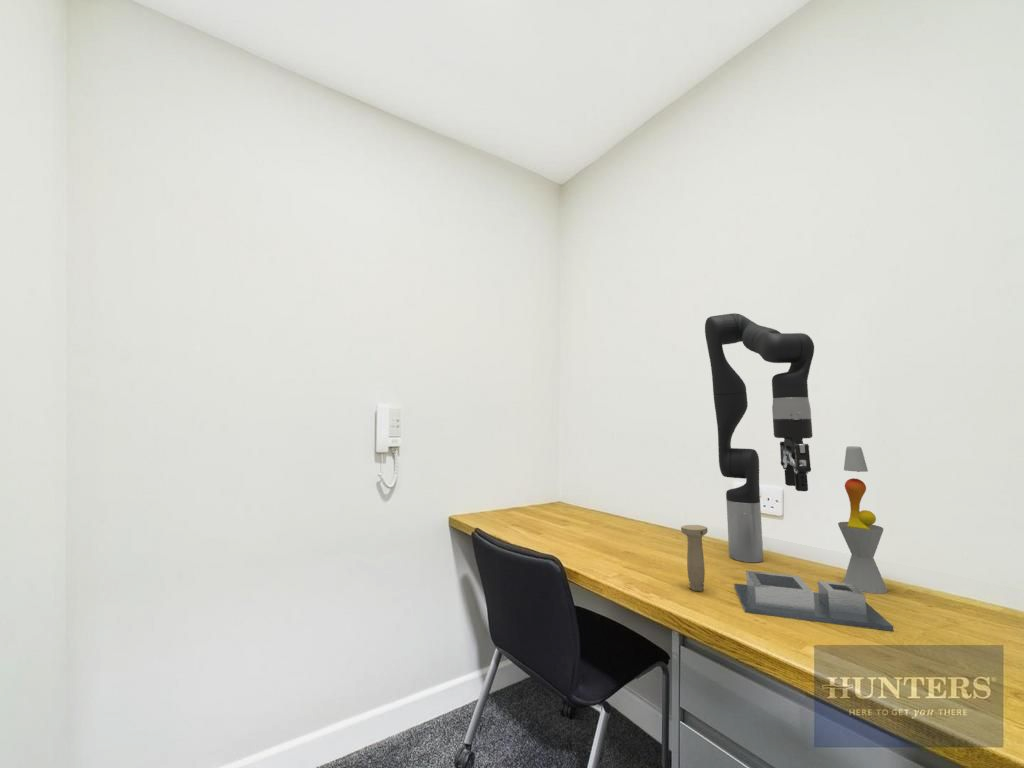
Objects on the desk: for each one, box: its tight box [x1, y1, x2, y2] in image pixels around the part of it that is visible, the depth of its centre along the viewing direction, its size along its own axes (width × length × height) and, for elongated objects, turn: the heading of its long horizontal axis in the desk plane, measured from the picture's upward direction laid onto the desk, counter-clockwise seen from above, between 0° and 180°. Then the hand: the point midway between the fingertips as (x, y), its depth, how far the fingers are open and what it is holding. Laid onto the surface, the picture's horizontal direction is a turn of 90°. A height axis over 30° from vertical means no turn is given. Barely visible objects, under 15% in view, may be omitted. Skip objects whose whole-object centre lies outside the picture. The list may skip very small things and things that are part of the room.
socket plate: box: [733, 570, 894, 632], centre depth 95 cm, size 15×26×5 cm, turn 70°
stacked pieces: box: [837, 445, 889, 595], centre depth 109 cm, size 9×9×35 cm
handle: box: [680, 524, 708, 592], centre depth 106 cm, size 5×6×15 cm
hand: (796, 488), depth 98 cm, fingers open, 8 cm apart
